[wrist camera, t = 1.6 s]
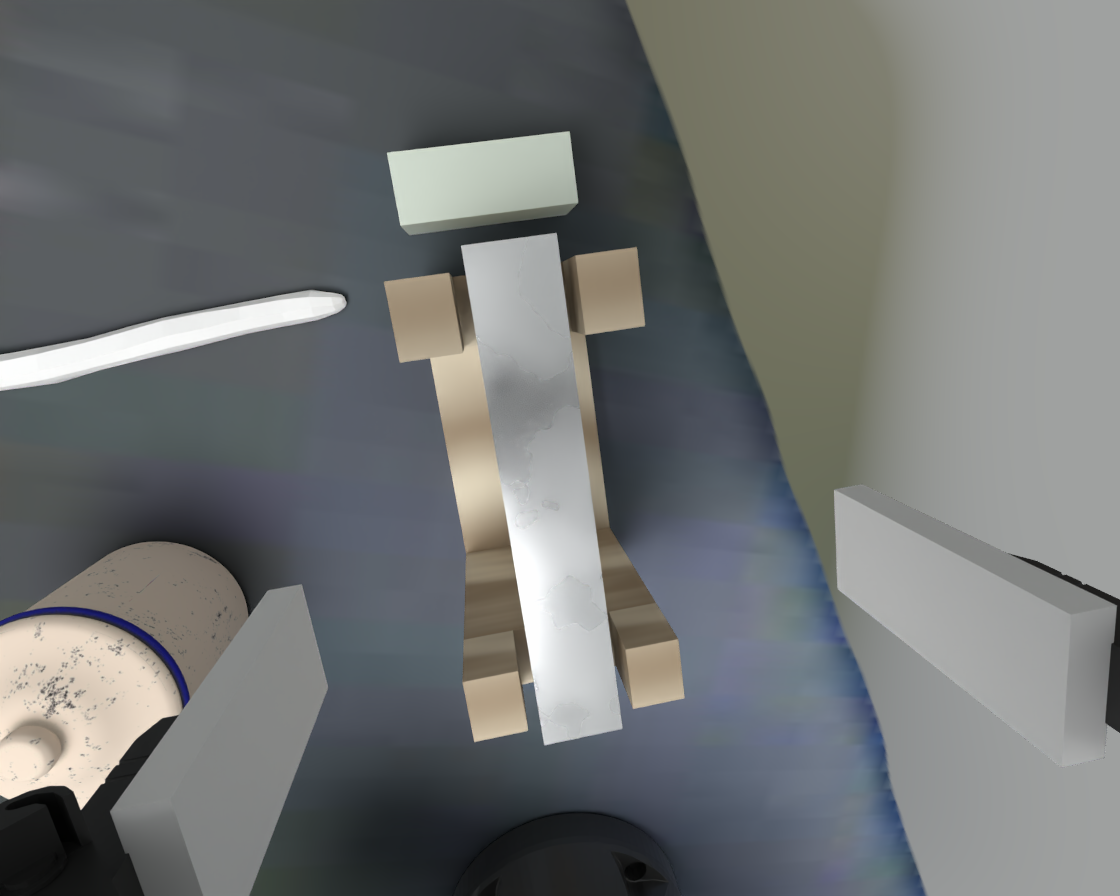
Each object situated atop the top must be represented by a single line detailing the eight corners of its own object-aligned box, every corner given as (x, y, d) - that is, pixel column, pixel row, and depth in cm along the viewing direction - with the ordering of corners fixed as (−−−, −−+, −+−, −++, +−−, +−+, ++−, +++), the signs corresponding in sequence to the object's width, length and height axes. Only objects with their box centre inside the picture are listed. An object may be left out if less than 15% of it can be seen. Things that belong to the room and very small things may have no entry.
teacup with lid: (37, 581, 33) (-186, 722, 22) (196, 505, 34) (56, 606, 22) (168, 755, 36) (31, 957, 25) (313, 684, 37) (242, 853, 25)
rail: (606, 683, 27) (622, 728, 24) (536, 697, 27) (544, 745, 24) (546, 242, 23) (556, 233, 20) (462, 253, 23) (460, 245, 20)
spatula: (330, 238, 32) (317, 231, 29) (354, 319, 33) (343, 321, 30) (-270, 360, 30) (-344, 366, 27) (-225, 443, 31) (-293, 457, 28)
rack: (610, 560, 37) (684, 698, 24) (473, 586, 37) (474, 741, 24) (573, 269, 34) (637, 247, 20) (419, 291, 33) (384, 281, 20)
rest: (566, 214, 33) (578, 202, 29) (409, 235, 32) (400, 225, 28) (518, -154, 29) (525, -224, 25) (340, -141, 28) (319, -211, 25)
